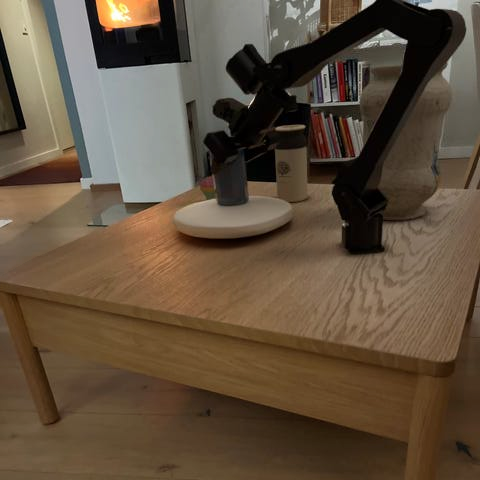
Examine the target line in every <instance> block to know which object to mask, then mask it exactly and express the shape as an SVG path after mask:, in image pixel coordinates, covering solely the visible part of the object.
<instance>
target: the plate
mask: <svg viewBox="0 0 480 480" xmlns="http://www.w3.org/2000/svg"><path fill="white" fill-rule="evenodd" d="M293 216H294V210H293V206H292V203H290V202H286V201H284V200H281V199H277V197H270V196H264V195H263V196H262V195H249V200H248V201H247V202H245V203H242V204H238V205H232V206H221V205H218V204H217V201H216V199H211V200H207V199H206V200H202V201H199V202H194V203H190V204H188V205H186V206H183V207H181V208H180V209H178V210H177V211H176V212H174V214H173V217H172V224H173V227H174V228H175V230H177V231H178V232H179V233H182V234H184V235H187V236H191V237H196V238H203V239H204V238H205V239H237V238H238V239H239V238H248V237H252V236H259V235H264V234H266V233H268V232H271V231H274V230H276V229H278V228H280V227H282V226H284V225H285V224H287V223H289V222H290V221H291V220H292V218H293Z"/></svg>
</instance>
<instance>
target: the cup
mask: <svg viewBox="0 0 480 480" xmlns="http://www.w3.org/2000/svg"><path fill="white" fill-rule="evenodd" d="M228 136H229V137H230V138H234V135H231V136H230V135H228ZM208 153H209V162H210V161H211V163H210V166H211V165H212V160H213V154H212V153H211V152H210V150H209V149H208ZM234 160H235V162H234V163H232V164H231V165H229V166H228V167H226V168H225V169H223V170H222V171H220V172H218V173H217V174H215V175H213V174H212V173H211V176H212V175H213V182H214V189H215V196H216V201H217V204H218V205H221V206H232V205H238V204H242V203H245V202H247V201H248V200H249V196H250V192H249V184H248V183H249V182H248V175H247V163H245V155H244V149H240V150H238V156H237V157H236V158H235V159H234Z"/></svg>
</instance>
